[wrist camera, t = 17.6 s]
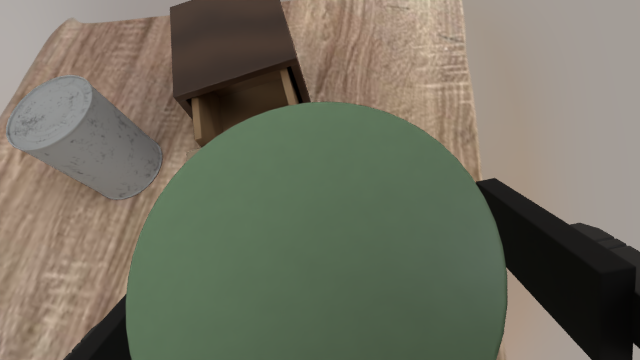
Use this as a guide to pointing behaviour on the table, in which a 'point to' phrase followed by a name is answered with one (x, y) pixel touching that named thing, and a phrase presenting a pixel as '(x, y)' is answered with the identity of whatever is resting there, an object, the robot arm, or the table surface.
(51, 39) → the table surface
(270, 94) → the drawer
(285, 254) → the tin
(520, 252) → the robot arm
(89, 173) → the grey concrete cylinder
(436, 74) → the table surface
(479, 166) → the table surface
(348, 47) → the table surface
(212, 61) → the cabinet
